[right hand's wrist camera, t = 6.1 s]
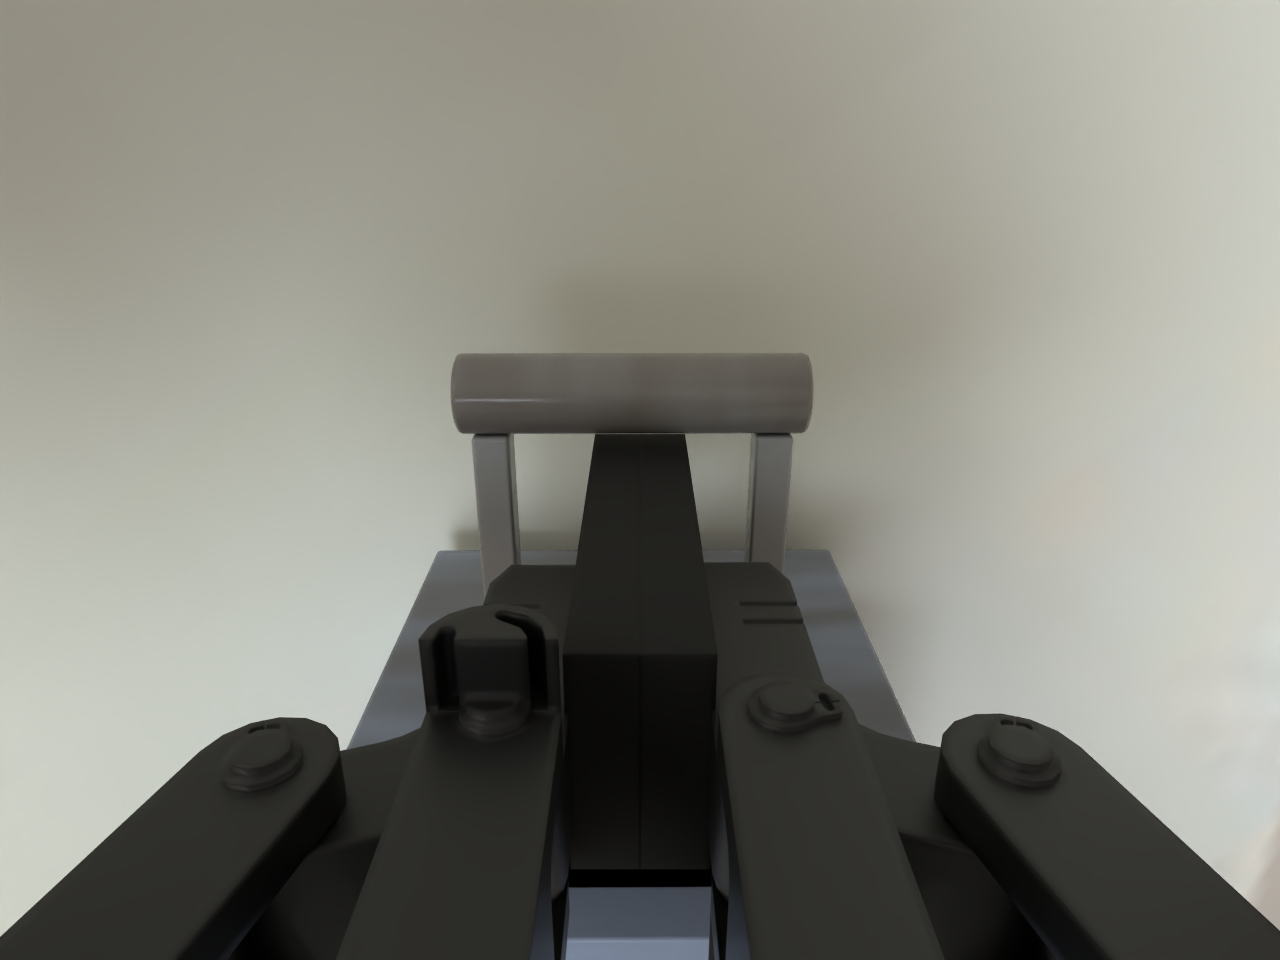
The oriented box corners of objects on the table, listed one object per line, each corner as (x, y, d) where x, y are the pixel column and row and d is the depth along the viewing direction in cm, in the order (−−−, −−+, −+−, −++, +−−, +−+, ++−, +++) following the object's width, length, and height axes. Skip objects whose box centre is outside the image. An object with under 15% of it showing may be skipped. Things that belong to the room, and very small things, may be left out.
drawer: (412, 300, 17) (264, 418, 10) (852, 300, 18) (997, 416, 11) (492, 1095, 27) (441, 1437, 20) (778, 1093, 27) (828, 1434, 20)
